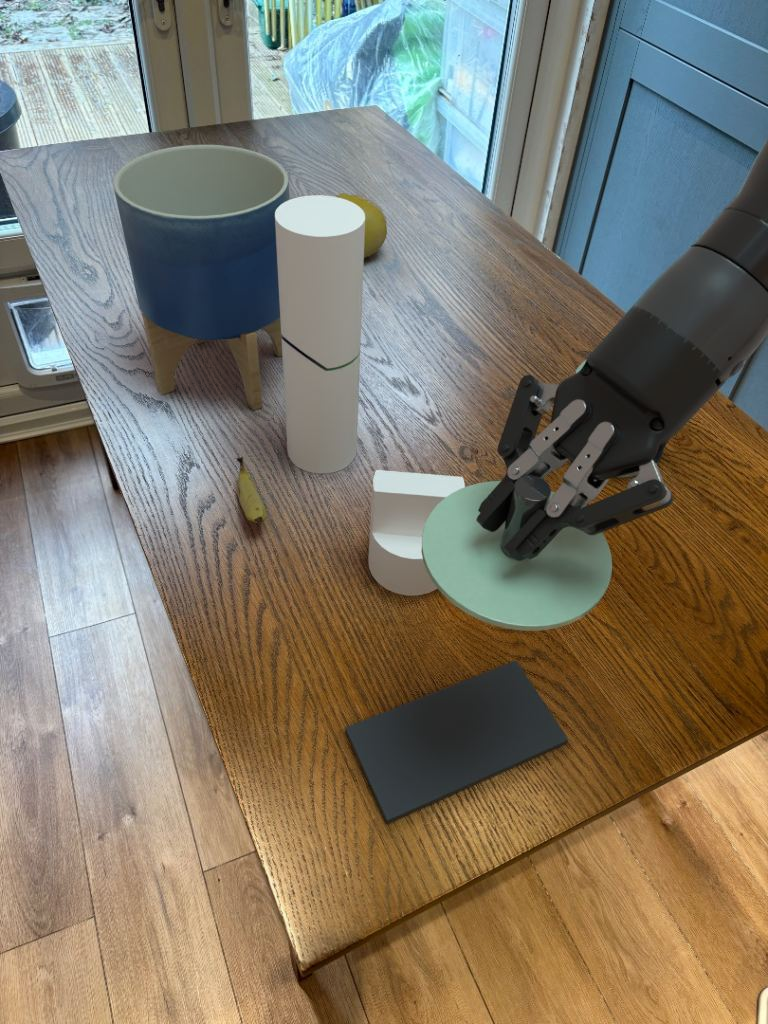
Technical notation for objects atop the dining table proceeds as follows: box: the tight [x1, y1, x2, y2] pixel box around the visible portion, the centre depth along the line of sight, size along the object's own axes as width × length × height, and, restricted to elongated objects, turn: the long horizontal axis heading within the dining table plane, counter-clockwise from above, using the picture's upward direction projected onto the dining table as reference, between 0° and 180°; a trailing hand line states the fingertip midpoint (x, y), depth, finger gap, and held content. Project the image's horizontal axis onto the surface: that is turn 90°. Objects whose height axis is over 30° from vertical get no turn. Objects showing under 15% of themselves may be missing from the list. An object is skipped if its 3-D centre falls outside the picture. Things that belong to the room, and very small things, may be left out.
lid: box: [421, 476, 613, 632], centre depth 52 cm, size 14×14×7 cm
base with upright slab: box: [367, 469, 466, 597], centre depth 77 cm, size 9×9×12 cm
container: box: [275, 194, 365, 475], centre depth 82 cm, size 9×9×30 cm
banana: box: [236, 456, 267, 524], centre depth 84 cm, size 10×2×4 cm, turn 19°
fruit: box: [334, 192, 388, 259], centre depth 124 cm, size 10×11×10 cm
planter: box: [113, 144, 290, 411], centre depth 93 cm, size 19×19×26 cm
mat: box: [344, 660, 569, 824], centre depth 67 cm, size 18×9×1 cm, turn 115°
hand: (498, 540), depth 51 cm, fingers closed on lid, 2 cm apart
